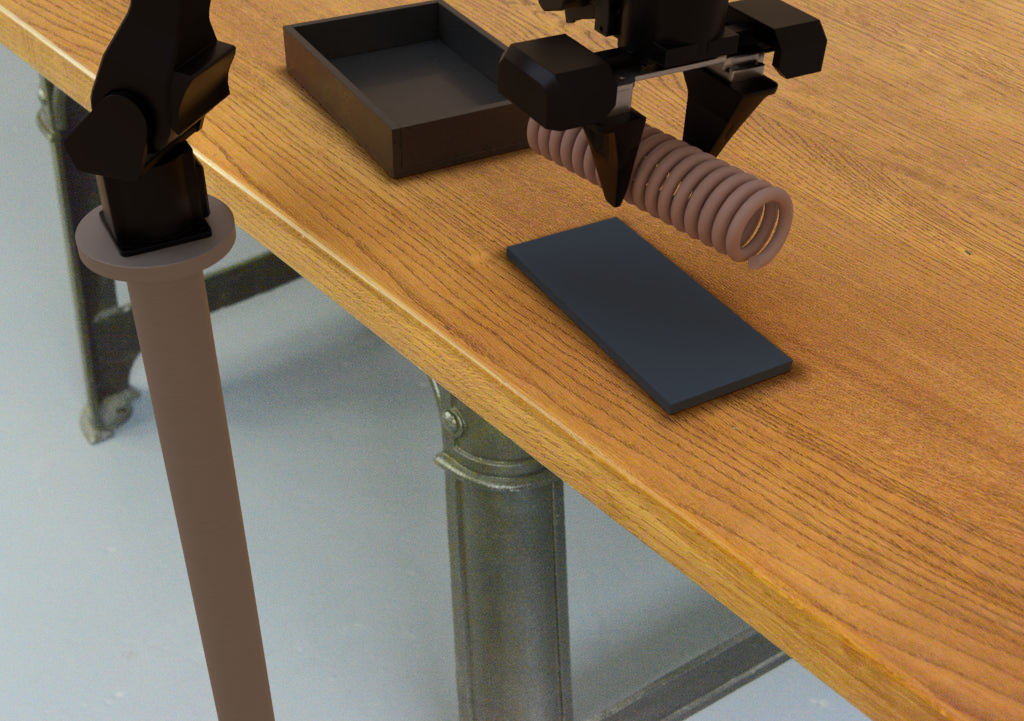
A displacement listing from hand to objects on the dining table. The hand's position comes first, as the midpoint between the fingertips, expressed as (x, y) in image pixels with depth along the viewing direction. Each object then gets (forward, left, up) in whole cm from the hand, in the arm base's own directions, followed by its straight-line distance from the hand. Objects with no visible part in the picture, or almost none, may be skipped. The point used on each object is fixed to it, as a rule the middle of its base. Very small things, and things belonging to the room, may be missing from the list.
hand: (650, 194), depth 69 cm
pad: (0, 0, -8) cm, 8 cm away
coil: (0, 0, -1) cm, 1 cm away
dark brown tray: (+1, +34, -8) cm, 35 cm away
